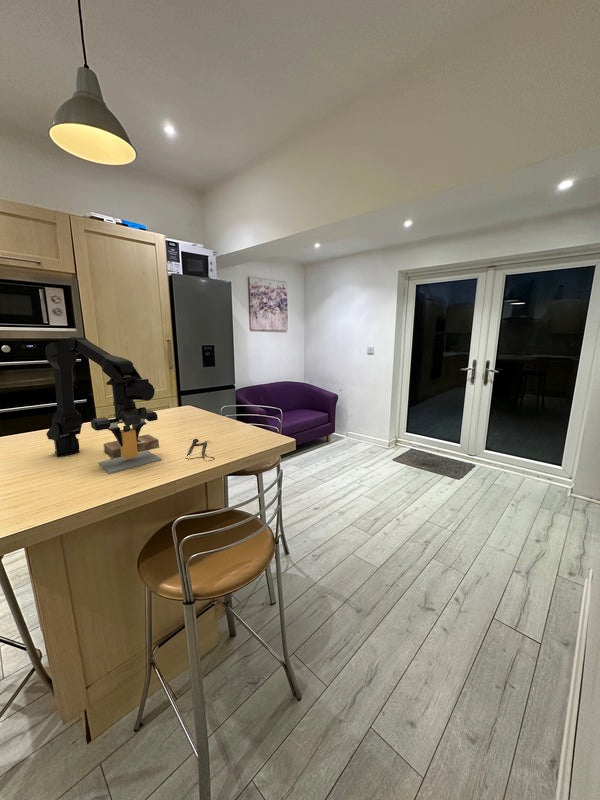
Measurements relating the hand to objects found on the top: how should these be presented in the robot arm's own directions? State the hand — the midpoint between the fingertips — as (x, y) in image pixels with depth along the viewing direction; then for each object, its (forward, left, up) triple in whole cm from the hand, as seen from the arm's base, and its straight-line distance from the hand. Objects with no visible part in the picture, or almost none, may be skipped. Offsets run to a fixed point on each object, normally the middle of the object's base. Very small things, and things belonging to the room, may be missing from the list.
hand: (128, 444), depth 108 cm
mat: (0, 0, -6) cm, 6 cm away
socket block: (+5, +13, -6) cm, 15 cm away
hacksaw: (+23, -7, -7) cm, 25 cm away
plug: (0, 0, -4) cm, 4 cm away
